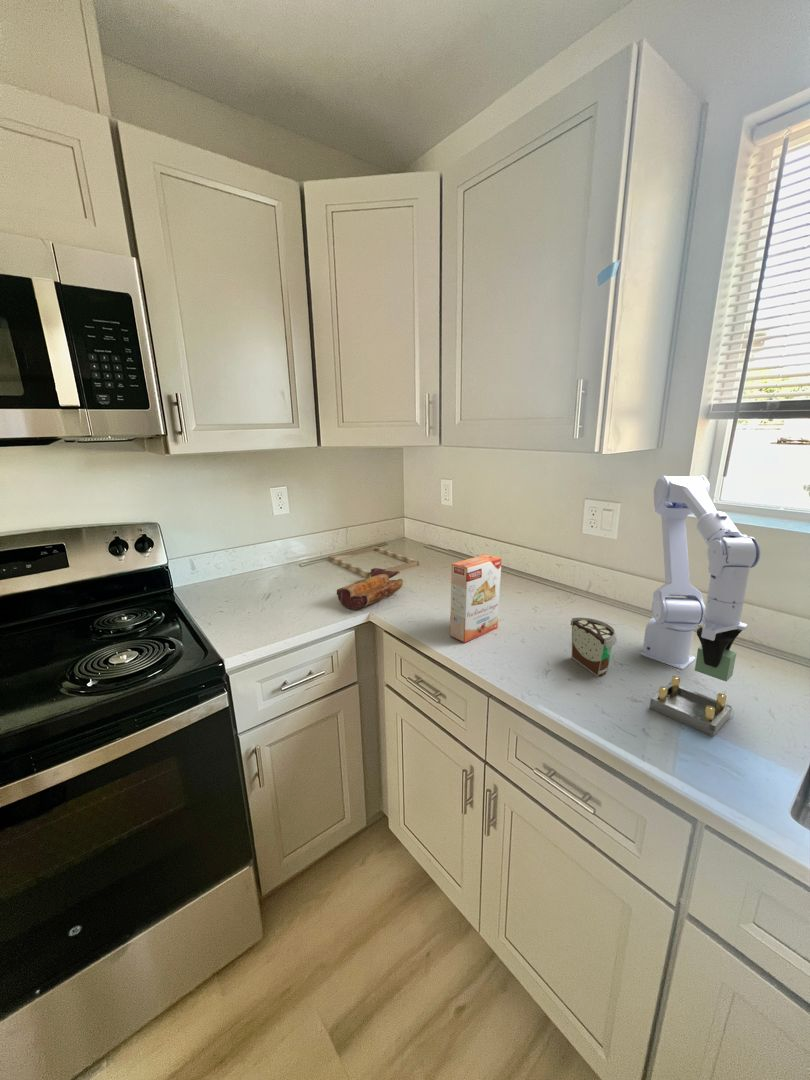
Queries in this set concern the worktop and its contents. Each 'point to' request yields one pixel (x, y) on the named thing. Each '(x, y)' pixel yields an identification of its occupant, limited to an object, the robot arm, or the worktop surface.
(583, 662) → the food container
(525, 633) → the worktop surface
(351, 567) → the rim
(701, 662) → the block
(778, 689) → the worktop surface
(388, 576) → the cured meat
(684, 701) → the chassis
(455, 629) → the cracker box
